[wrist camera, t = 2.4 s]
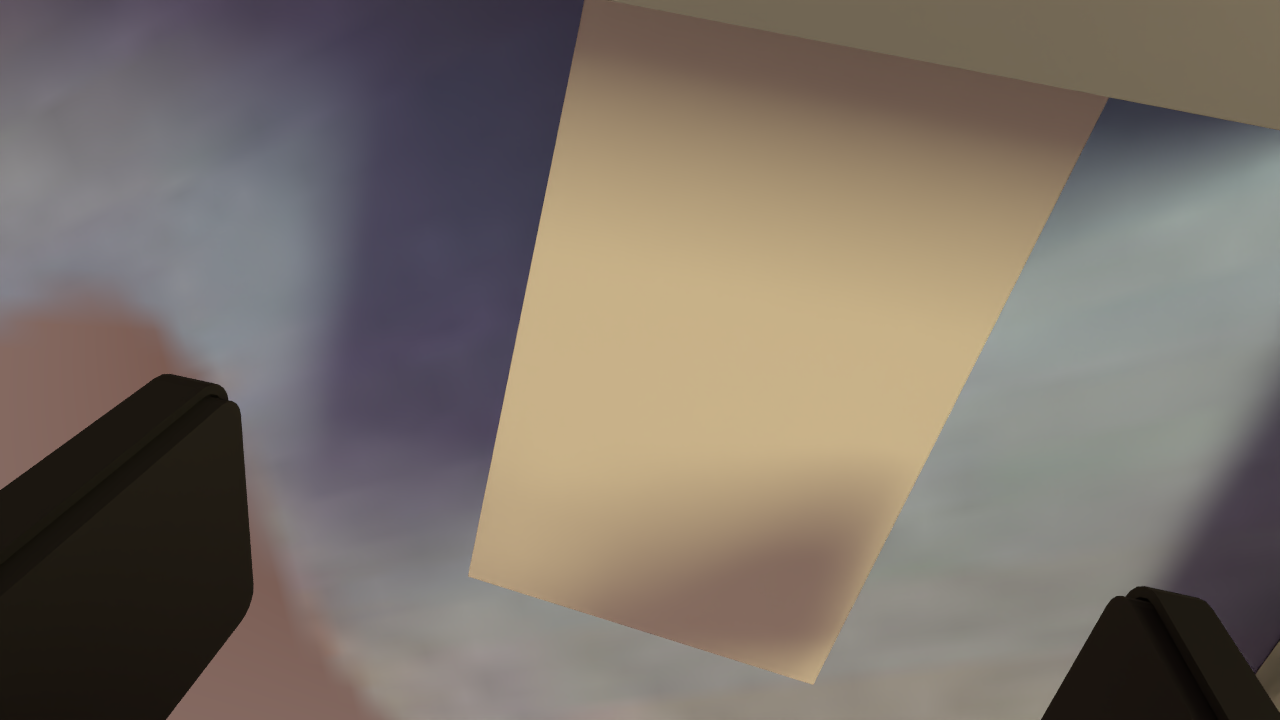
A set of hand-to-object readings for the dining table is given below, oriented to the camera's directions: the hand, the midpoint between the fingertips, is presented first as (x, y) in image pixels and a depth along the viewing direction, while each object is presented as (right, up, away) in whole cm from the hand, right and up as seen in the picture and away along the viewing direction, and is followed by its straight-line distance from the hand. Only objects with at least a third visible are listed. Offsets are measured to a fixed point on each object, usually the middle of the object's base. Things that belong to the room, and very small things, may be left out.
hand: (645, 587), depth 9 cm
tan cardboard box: (+3, +7, +7) cm, 10 cm away
